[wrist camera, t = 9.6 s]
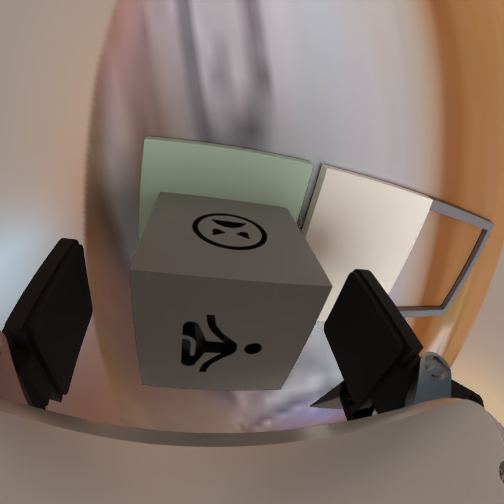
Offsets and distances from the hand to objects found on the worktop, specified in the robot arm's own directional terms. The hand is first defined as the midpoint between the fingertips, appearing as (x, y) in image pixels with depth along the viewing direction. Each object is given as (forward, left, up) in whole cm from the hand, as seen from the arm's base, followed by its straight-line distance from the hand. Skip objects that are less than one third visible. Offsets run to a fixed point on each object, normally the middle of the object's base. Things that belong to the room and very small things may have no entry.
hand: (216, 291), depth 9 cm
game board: (0, -7, -4) cm, 8 cm away
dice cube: (0, 0, -3) cm, 3 cm away
